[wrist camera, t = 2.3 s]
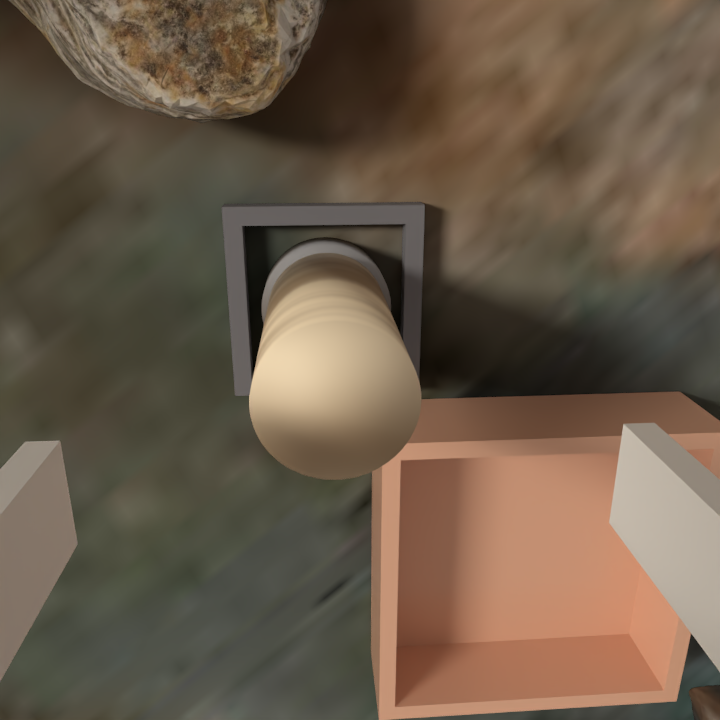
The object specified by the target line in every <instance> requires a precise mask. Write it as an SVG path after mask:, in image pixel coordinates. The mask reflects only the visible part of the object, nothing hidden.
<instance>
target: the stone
mask: <svg viewBox="0 0 720 720" xmlns="http://www.w3.org/2000/svg"><path fill="white" fill-rule="evenodd" d="M9 1H10V2H11V3H12V4H13V5H14V6H15V7H16V8H18V9H19V10H20V11H21V12H22V13H23V14H24V16H25V17H26V18H27V19H28V20H29V21H30V22H31V23H32V24H34V25H35V26H36V27H37V28H38V29H39V30H40V32H41V33H42V34H43V35H44V36H45V37H46V39H47V40H48V41H49V42H50V44H51V45H52V47H53V48H54V50H55V51H56V53H57V54H58V56H59V57H60V58H61V59H62V60H63V61H64V62H65V64H66V65H67V66H68V67H69V68H70V70H71V71H72V72H73V73H74V74H75V76H76V77H77V78H78V79H79V80H81V81H82V82H83V83H85V84H87V85H89V86H91V87H93V88H95V89H97V90H99V91H101V92H103V93H104V94H105V95H107V96H109V97H111V98H113V99H115V100H117V101H119V102H121V103H123V104H125V105H127V106H131V107H135V108H139V109H143V110H146V111H149V112H152V113H155V114H158V115H161V116H166V117H171V118H184V119H188V120H192V121H196V122H200V123H203V122H208V121H211V120H218V119H231V118H237V117H241V116H246V115H250V114H253V113H257V112H258V111H260V110H263V109H264V108H266V107H267V106H269V105H270V104H271V103H272V102H273V100H274V99H275V98H276V97H277V96H278V94H279V93H280V92H281V91H282V90H283V89H284V87H285V85H286V84H287V83H288V82H289V81H290V79H291V78H292V77H293V76H294V75H295V74H296V72H297V70H298V68H299V65H300V63H301V60H302V58H303V56H304V54H305V53H306V52H307V51H308V49H309V48H310V47H311V41H312V39H313V37H314V34H315V32H316V30H317V27H318V25H319V23H320V20H321V18H322V15H323V13H324V11H325V7H326V2H327V0H9Z"/></svg>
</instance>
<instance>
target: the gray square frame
mask: <svg viewBox="0 0 720 720" xmlns="http://www.w3.org/2000/svg"><path fill="white" fill-rule="evenodd" d="M424 218H425V205H424V204H423V203H422V202H388V203H283V204H224V205H223V206H222V219H223V233H224V247H225V261H226V275H227V289H228V303H229V317H230V331H231V345H232V359H233V373H234V387H235V396H244V395H250V389H251V384H252V379H253V374H254V371H253V359H252V343H251V326H250V310H249V293H248V276H247V260H246V243H245V227H244V226H286V225H371V224H403V236H402V282H401V328H400V335H401V338H402V340H403V342H404V345H405V347H406V349H407V352H408V354H409V356H410V359H411V361H412V363H413V366H414V368H415V370H416V373H417V376H418V379H419V371H420V340H421V309H422V279H423V248H424Z"/></svg>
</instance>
